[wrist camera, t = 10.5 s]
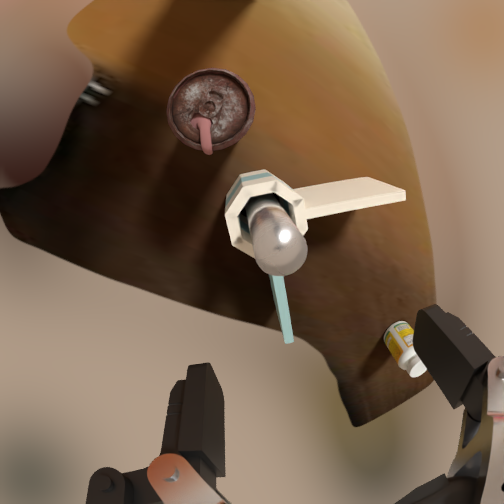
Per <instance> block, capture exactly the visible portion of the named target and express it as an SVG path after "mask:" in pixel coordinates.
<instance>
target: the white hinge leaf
mask: <svg viewBox="0 0 504 504" xmlns="http://www.w3.org/2000/svg"><path fill="white" fill-rule="evenodd" d="M266 172H268V171H266V170H265V169H264V170H259V171H254V172H249V173H244V174H240V175H239V177H238V178H237V180H236V181H235V183H234V184H233V186H232V187H231V189H230V190H229V192H228V193H227V195H226V200H227V198H228V197H229V195H230V194H231V192H232V190H233V189H234V187H235V186H236V184H237V183H238V181H239V180H240V178H242V177H247V176H252V175H256V174H261V173H266ZM268 173H269V172H268ZM270 174H271V173H270ZM271 175H273V174H271ZM273 176H274V175H273ZM273 176H268V177H263V178H258V179H253V180H248V181H244V182H241V184H240V185H239V187H238V188H237V190H236V192H235V193H234V195H233V196H232V198H231V199H230V201H229V202H228V204H227V205H226V207H225V218H226V222H227V226H228V230H229V235H230V239H231V243H232V246H234V247H236V248H238V249H239V250H241V251H243V252H244V253H246V254H248V255H250V256H251V257H253V258H255V255H254V250H253V245H252V240H251V235H250V234H249V233H247V232H246V231H244V230H242V229H241V226H240V222H239V218H240V220H241V221H242V222H244V223H246V224H247V225H249V224H248V219H247V217H245V216H243V215H242V214H240V212H241V210H242V209H243V207H244V206H245V204H246V203H247V201H248V200H249V198H250V197H253V196H258V195H262V194H267V193H272V192H274V193H276V194H277V195H279V200H280V205H281V206H282V207H283V209H284V210H285V208H284V202H283V198H284V199H285V200H286V201H288V207H289V213H290V218H291V220H292V221H293V223H294V224H295V225H296V227H297V228H298V230H299V231H300V232H301V234H302V235H304V234H305V233H306V231H307V230H308V225H307V219H311V218H316V217H321V216H326V215H331V214H336V213H341V212H346V211H351V210H356V209H361V208H367V207H372V206H377V205H382V204H388V203H393V202H399V201H404V200H406V194H405V190H403V189H400V188H397V187H395V186H392V185H389V184H386V183H384V182H381V181H378V180H375V179H372V178H369V177H362V178H355V179H349V180H343V181H337V182H331V183H325V184H319V185H314V186H308V187H303V188H297V189H293V190H292V189H291V188H289V187H288V186H286V185H287V184H286V183H285V184H286V185H285V184H283V183H284V182H283V181H282V182H283V183H282V182H280V181H281V180H280V179H279V180H280V181H279V180H277V179H278V178H277V177H276V176H274V177H273ZM275 177H276V178H277V179H276V178H275ZM238 215H239V218H238Z"/></svg>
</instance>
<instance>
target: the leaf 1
mask: <svg viewBox="0 0 504 504" xmlns="http://www.w3.org/2000/svg"><path fill="white" fill-rule="evenodd" d="M268 176H273V175H271V174H270V173H268V172H266V173H261V174H256V175H252V176H247V177H242V178H240V180H239V181H238V183H237V184H236V186H235V187H234V189H233V190H232V192H231V194H230V195H229V197H228V198H227V200H226V205H227V204H228V202H229V201H230V199H231V198H232V196H233V195H234V193H235V192H236V190H237V188H238V187H239V185H240V184H241V182H244V181H248V180H253V179H258V178H263V177H268ZM273 177H274V176H273ZM275 178H276V177H275ZM276 179H277V178H276ZM277 180H279V179H277ZM279 181H280V180H279ZM280 182H282V181H280ZM282 183H283V182H282ZM283 184H285V183H283ZM285 185H286V184H285ZM286 186H288V185H286ZM288 187H289V186H288ZM289 188H291V187H289ZM291 189H292V188H291ZM292 190H293V189H292ZM283 202H284V208H285V211H286V213H287V214H288V216H289V217H290V213H289V207H288V201H286V200H285V199H284V198H283ZM225 207H226V206H225ZM238 218H239V215H238ZM239 222H240V226H241V229H242V230H244V231H246V232H247V233H249V234H250V229H249V225H247V224H246V223H244V222H242V221H241V220H240V218H239ZM269 277H270V282H271V287H272V292H273V297H274V302H275V306H276V310H277V314H278V318H279V322H280V326H281V330H282V334H283V338H284V341H285V344H287V343H291V342H294V340H293V334H292V327H291V321H290V315H289V309H288V303H287V297H286V291H285V285H284V279H283V276H273V275H270V274H269Z"/></svg>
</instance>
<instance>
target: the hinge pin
mask: <svg viewBox="0 0 504 504" xmlns="http://www.w3.org/2000/svg"><path fill="white" fill-rule="evenodd" d="M245 209H246V214H247V219H248V224H249V229H250V235H251V240H252V245H253V250H254V255H255V260H256V262H257V264H258V266H259V267H260V268H261V269H262V270H263V271H264V272H266V273H268V274H270V275H273V276H286V275H289V274H291V273H293V272H295V271H296V270H298V269H299V268H300V267H301V266H302V265H303V263H304V261H305V259H306V257H307V251H308V249H307V243H306V240H305V238H304V237H303V235H302V234H301V232H300V231H299V230H298V228H297V227H296V225H295V224H294V223H293V221H292V220H291V218H290V217H289V216H288V214H287V213H286V211H285V210H284V209H283V207H282V206H281V205H280V203H279V202H278V201H277V199H276V198H275V196H274V195H273V194H272V193H267V194H262V195H258V196H253V197H250V198H249V200H248V201H247V203H246V204H245Z"/></svg>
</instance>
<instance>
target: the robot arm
mask: <svg viewBox="0 0 504 504" xmlns="http://www.w3.org/2000/svg"><path fill="white" fill-rule="evenodd" d="M413 348H414V350H415V353H416V354H417V355H418V357H419V358H420V360H421V361H422V363H423V364H424V365H425V367H426V368H427V370H428V371H429V373H430V374H431V376H432V377H433V379H434V380H435V381H436V383H437V384H438V386H439V387H440V389H441V390H442V392H443V394H444V395H445V397H446V398H447V400H448V401H449V403H450V404H451V406H452V407H453V409H455V408H457V407H459V406H460V405H462V404H463V405H464V406H465V410H464V413H463V420H462V427H461V433H460V439H459V445H458V450H457V453H456V456H455V459H454V460H453V462H452V464H451V467H450V469H449V472H448V475H447V478H446V476H445V474H442V475H440V476H439V477H437V478H435V479H433V480H431V481H429V482H427V483H426V484H423V485H421V486H419V487H417V488H416V489H414V490H413V491H412V492H410V493H409V494H408V495H406V496H405V497H403V498H402V499H401V500H399V501H398V502H396V503H395V504H504V356H498V357H495V356H494V355H493V354H492V353H491V352H490V350H489V349H488V348H487V347H486V346H485V345H484V344H483V343H482V342H481V341H480V340H479V338H478V337H477V336H476V335H475V334H472V331H471V330H470V329H469V328H468V327H466V325H465V324H464V323H463V322H462V321H461V320H460V319H459V318H458V317H456V316H454V315H452V314H450V313H445V312H444V311H443V310H442V309H441V308H440V307H439V306H438V305H436V304H434V305H431V306H429V307H426V308H423V309H421V310H419V311H418V313H417V317H416V323H415V329H414V334H413ZM224 429H225V428H224V396H223V392H222V388H221V386H220V384H219V382H218V379H217V377H216V375H215V373H214V370H213V368H212V366H211V364H210V363H203V364H195V365H189V366H188V370H187V377H186V380H178V381H177V382H176V384H175V386H174V387H173V389H172V390H171V392H170V398H169V406H168V410H167V416H166V422H165V428H164V435H163V441H162V448H161V453H160V455H159V457H157V458H155V459H154V460H153V461H152V462H151V463H150V465H149V467H146V468H144V469H140V470H136V471H132V472H127V473H120V472H119V471H117V470H116V469H114V468H110V467H106V468H101V469H99V470H97V471H96V472H95V473H94V474H93V475H92V476H91V479H90V482H89V487H88V493H87V499H86V504H231V503H230V502H229V501H228V500H227V499H226V498H225V497H224V496H223V495H222V494H221V493H220V492H219V491H218V490H217V489H216V477H225V433H224V432H225V431H224Z"/></svg>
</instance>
